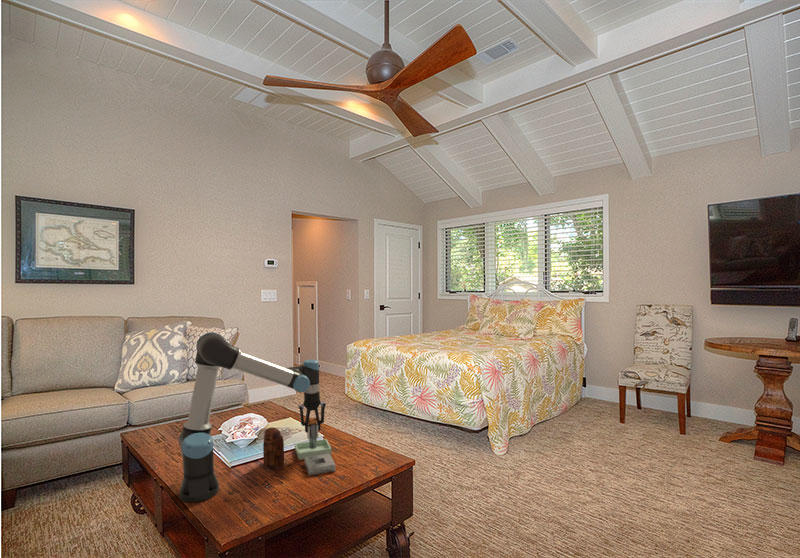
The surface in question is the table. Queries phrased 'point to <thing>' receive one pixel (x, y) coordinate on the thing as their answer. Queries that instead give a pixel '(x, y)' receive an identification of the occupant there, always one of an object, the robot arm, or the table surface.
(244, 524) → the table surface
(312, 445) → the pin
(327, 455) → the block
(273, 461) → the wooden figurine
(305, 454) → the tray
